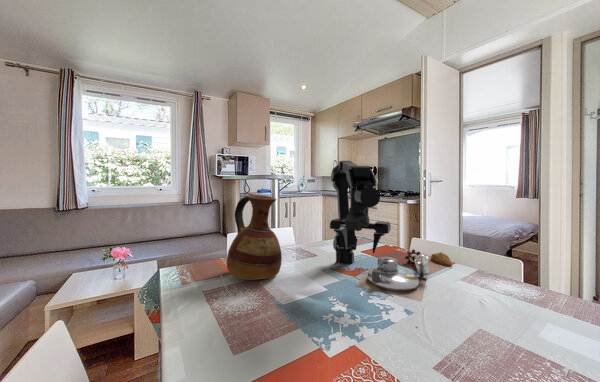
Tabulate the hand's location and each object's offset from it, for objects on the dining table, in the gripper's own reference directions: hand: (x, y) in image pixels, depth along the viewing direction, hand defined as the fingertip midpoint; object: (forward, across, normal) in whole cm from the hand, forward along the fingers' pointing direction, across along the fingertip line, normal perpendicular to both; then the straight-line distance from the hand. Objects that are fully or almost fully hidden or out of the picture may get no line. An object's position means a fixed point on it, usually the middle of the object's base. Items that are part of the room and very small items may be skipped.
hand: (359, 251), depth 78 cm
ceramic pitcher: (+11, -36, -9) cm, 39 cm away
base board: (+11, +10, +5) cm, 15 cm away
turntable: (+10, +10, +5) cm, 15 cm away
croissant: (+12, +24, +35) cm, 45 cm away
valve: (+12, +17, +23) cm, 30 cm away
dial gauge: (+10, +18, +13) cm, 24 cm away
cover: (+8, +7, +10) cm, 15 cm away
